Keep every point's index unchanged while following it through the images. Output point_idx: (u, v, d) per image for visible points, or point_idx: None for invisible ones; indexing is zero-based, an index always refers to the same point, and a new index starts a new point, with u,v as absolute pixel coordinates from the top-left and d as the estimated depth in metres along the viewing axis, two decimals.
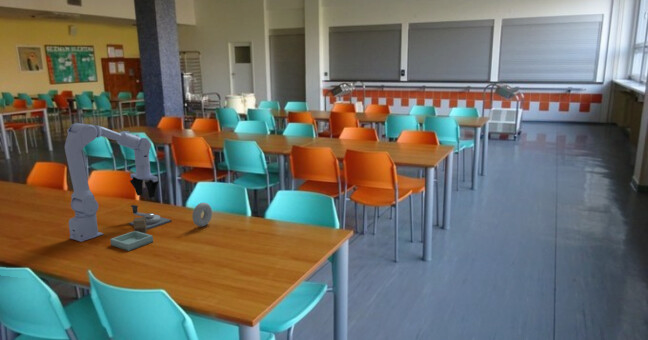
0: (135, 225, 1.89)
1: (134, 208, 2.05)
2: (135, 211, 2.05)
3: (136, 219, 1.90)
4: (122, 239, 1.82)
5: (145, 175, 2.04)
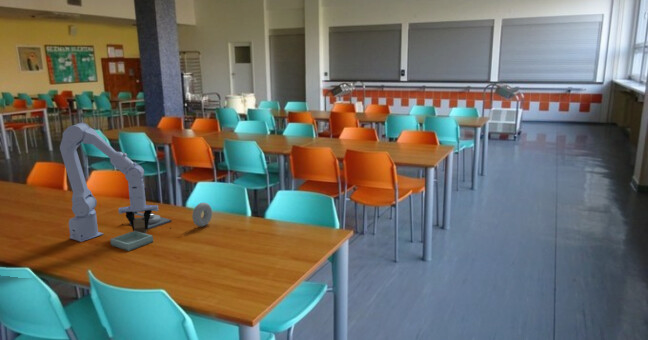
0: (135, 225, 1.89)
1: None
2: None
3: (136, 219, 1.90)
4: (122, 239, 1.82)
5: (144, 206, 1.89)
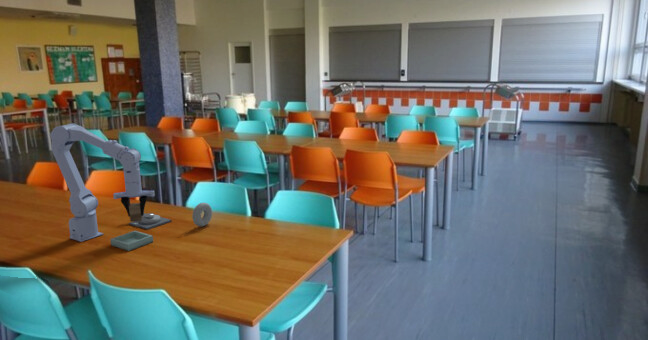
0: (130, 211, 1.84)
1: None
2: None
3: (132, 205, 1.85)
4: (122, 239, 1.82)
5: (140, 191, 1.84)
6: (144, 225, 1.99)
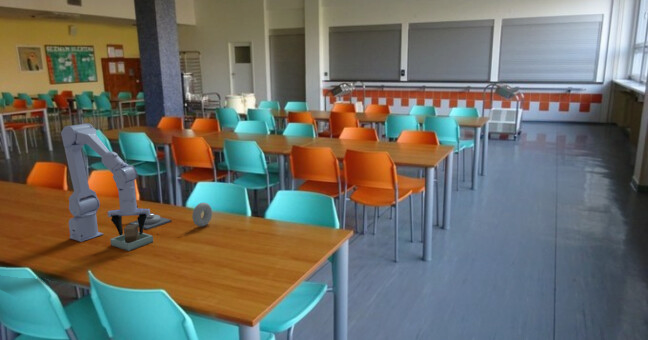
0: (125, 233, 1.78)
1: None
2: None
3: (127, 227, 1.79)
4: (122, 239, 1.82)
5: (135, 209, 1.77)
6: (144, 225, 1.99)
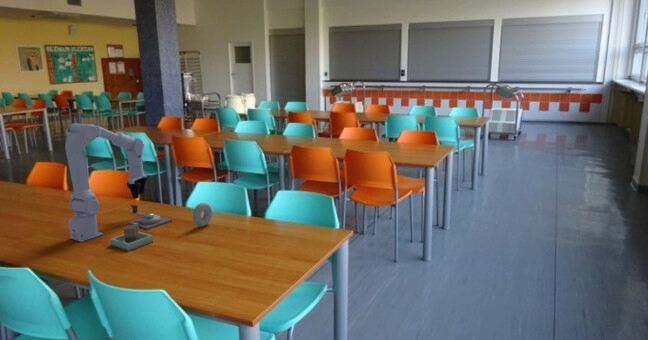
0: (125, 233, 1.78)
1: (134, 208, 2.05)
2: (135, 211, 2.05)
3: (127, 227, 1.79)
4: (122, 239, 1.82)
5: (131, 175, 2.06)
6: (144, 225, 1.99)
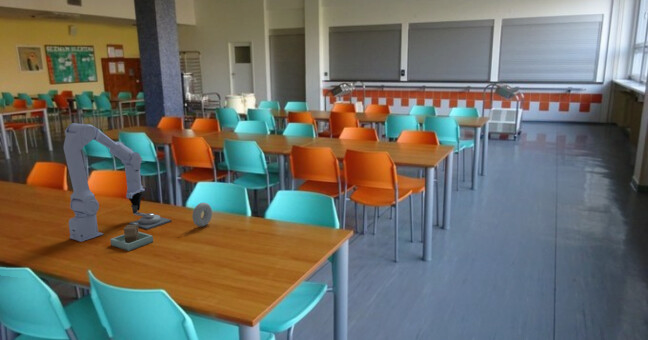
0: (125, 233, 1.78)
1: (134, 208, 2.05)
2: (135, 211, 2.05)
3: (127, 227, 1.79)
4: (122, 239, 1.82)
5: (129, 190, 2.03)
6: (144, 225, 1.99)
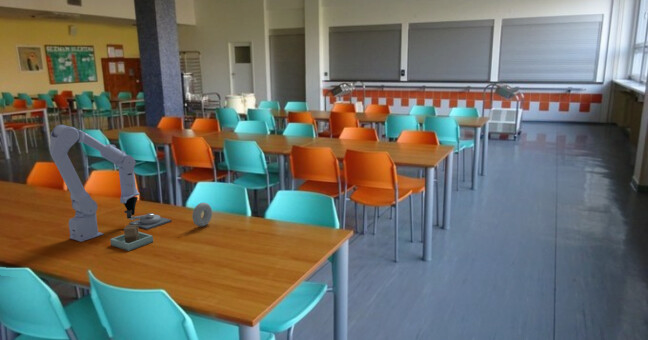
0: (125, 233, 1.78)
1: (130, 213, 1.99)
2: (131, 216, 1.99)
3: (127, 227, 1.79)
4: (122, 239, 1.82)
5: (123, 194, 1.96)
6: (144, 225, 1.99)
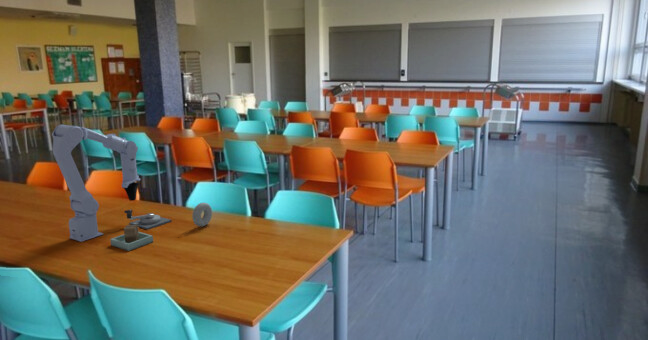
0: (125, 233, 1.78)
1: (130, 213, 1.99)
2: (131, 216, 1.99)
3: (127, 227, 1.79)
4: (122, 239, 1.82)
5: (125, 179, 2.00)
6: (144, 225, 1.99)
